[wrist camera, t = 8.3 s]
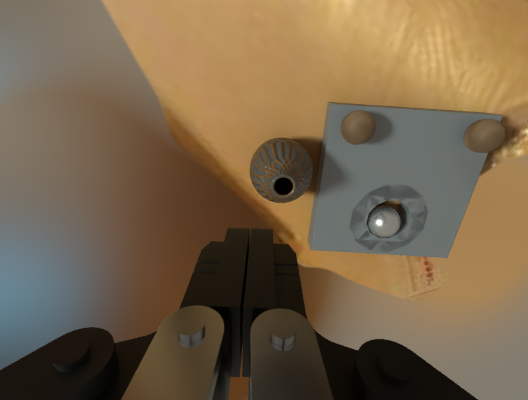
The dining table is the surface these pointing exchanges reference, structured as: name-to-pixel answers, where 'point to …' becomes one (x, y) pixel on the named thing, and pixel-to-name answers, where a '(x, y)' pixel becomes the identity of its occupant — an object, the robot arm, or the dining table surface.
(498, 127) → the walnut ball
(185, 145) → the dining table surface
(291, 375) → the robot arm
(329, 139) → the hole plate
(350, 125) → the walnut ball
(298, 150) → the vase
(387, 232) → the steel ball
